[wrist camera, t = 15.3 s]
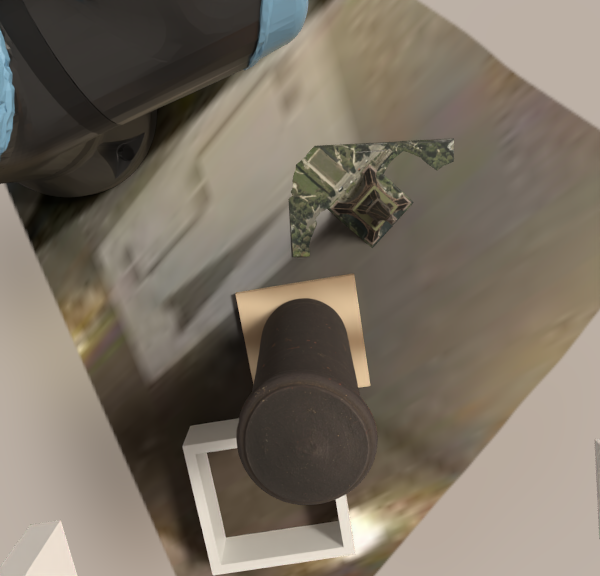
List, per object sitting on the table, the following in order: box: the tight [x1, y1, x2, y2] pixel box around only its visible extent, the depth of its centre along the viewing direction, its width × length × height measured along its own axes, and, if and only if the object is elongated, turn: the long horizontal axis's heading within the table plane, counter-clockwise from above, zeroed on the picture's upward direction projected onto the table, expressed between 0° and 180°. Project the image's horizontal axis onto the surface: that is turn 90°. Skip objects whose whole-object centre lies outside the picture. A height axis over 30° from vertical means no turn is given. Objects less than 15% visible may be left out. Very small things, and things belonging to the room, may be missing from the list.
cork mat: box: [236, 274, 370, 388], centre depth 53 cm, size 11×11×1 cm
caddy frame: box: [182, 418, 355, 575], centre depth 55 cm, size 14×14×4 cm
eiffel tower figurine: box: [289, 139, 454, 257], centre depth 44 cm, size 15×10×13 cm
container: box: [236, 298, 378, 505], centre depth 43 cm, size 9×9×20 cm
